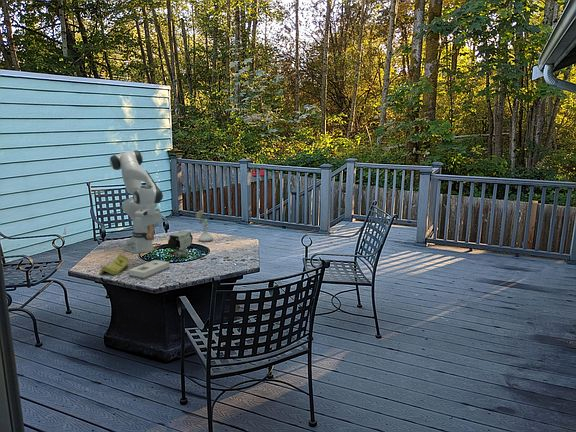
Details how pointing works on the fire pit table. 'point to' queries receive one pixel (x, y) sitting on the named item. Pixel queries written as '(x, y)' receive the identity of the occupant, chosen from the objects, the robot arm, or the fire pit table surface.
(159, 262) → the fitting block
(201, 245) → the fire pit table surface
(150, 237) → the brown cylinder
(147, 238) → the robot arm
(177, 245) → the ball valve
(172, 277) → the fire pit table surface
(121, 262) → the plastic component
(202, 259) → the fire pit table surface
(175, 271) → the fire pit table surface
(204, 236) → the flower in vase
